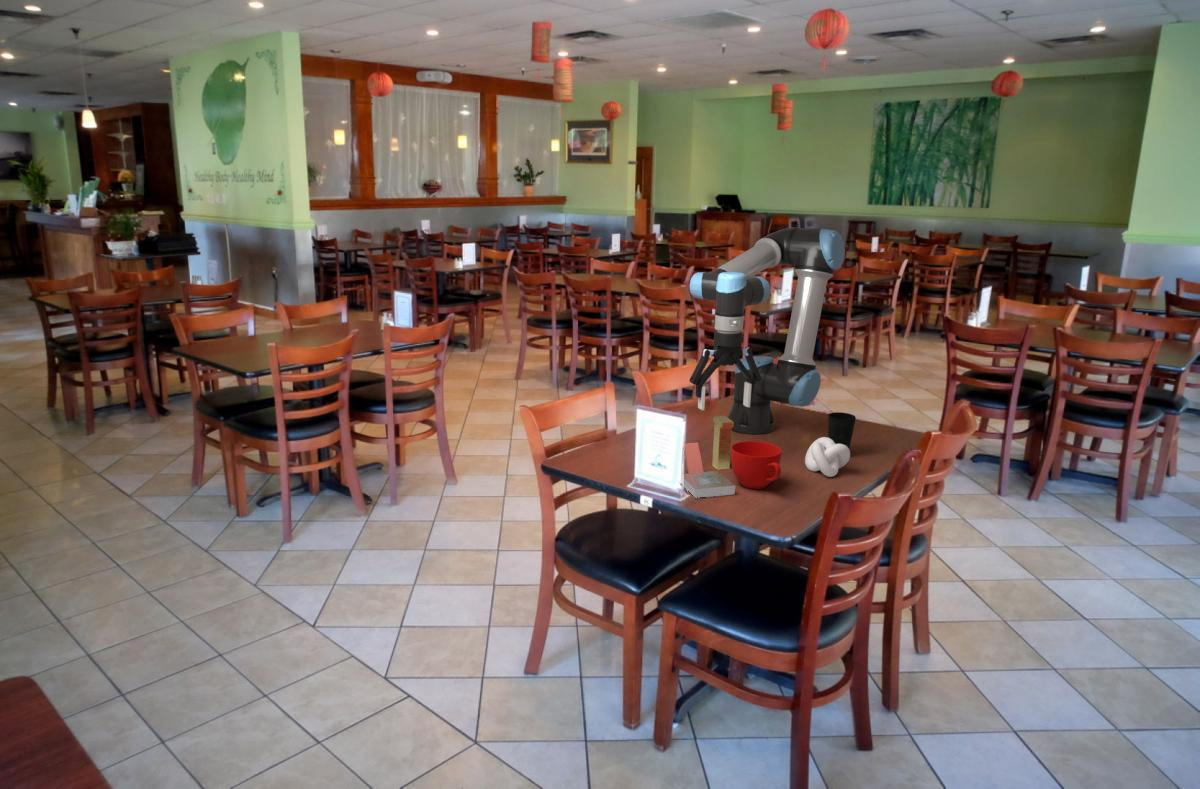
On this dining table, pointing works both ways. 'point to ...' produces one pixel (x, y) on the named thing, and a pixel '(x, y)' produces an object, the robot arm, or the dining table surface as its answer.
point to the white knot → (826, 456)
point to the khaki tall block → (722, 442)
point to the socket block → (708, 484)
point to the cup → (841, 427)
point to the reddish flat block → (693, 458)
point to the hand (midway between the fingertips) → (723, 407)
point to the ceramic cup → (755, 463)
